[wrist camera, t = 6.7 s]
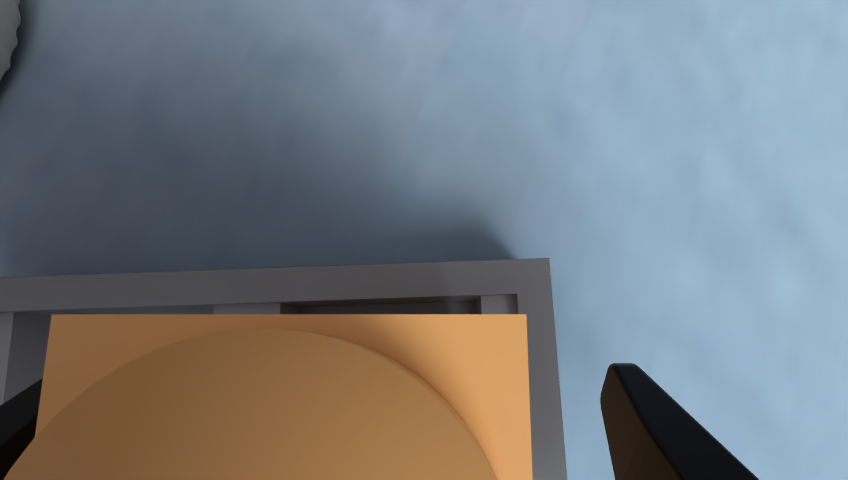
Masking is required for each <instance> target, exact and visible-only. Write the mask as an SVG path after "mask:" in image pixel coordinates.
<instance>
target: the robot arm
mask: <svg viewBox="0 0 848 480" xmlns="http://www.w3.org/2000/svg"><path fill="white" fill-rule="evenodd" d="M42 381H43V378H41V379H40V380H38V381H37V382H35V383H34V384H32V385H31V386H29V387H28V388H26V389H25V390H23V391H22V392H20V393H19V394H17V395H15V396H14V397H12V398H11V399H9V400H8V401H6V402H5V403H3V404H2V405H0V480H4V478H5V477H6V475H7V473H8V472H9V470H10V469H11V467H12V466H13V465H14V463H15V462H16V461H17V460H18V458H19V457H20V456H21V454H22V453H23V452H24V450H25V449H26V448H27V447H28V445H29V444H30V443H31V441H32V440H33V439H34V438H35V432H36V425H37V417H38V410H39V403H40V396H41V388H42ZM600 400H601V410H602V415H603V420H604V425H605V430H606V435H607V440H608V445H609V450H610V455H611V460H612V465H613V470H614V475H615V480H759V479H758V478H757V477H756V476H755V475H754V474H753V473H752V472H751V471H749V470H748V469H747V468H746V467H745V466H744V465H743V464H742V463H741V462H740V461H739V460H738V459H737V458H736V457H735V456H733V455H732V454H731V453H730V452H729V451H728V450H727V449H726V448H725V447H724V446H723V445H722V444H721V443H720V442H719V441H717V440H716V439H715V438H714V437H713V436H712V435H711V434H710V433H709V432H708V431H707V430H706V429H705V428H704V427H703V426H701V425H700V424H699V423H698V422H697V421H696V420H695V419H694V418H693V417H692V416H691V415H690V414H689V413H688V412H686V411H685V410H684V409H683V408H682V407H681V406H680V405H679V404H678V403H677V402H676V401H675V400H674V399H673V398H672V397H670V396H669V395H668V394H667V393H666V392H665V391H664V390H663V389H662V388H661V387H660V386H659V385H658V384H657V383H656V382H654V381H653V380H652V379H651V378H650V377H649V376H648V375H647V374H646V373H645V372H644V371H643V370H642V369H641V368H640V367H638V366H637V365H635V364H632V363H613V364H611V365H610V366H609V368H608V370H607V374H606V378H605V381H604V385H603V388H602V392H601V398H600Z"/></svg>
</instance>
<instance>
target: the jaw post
mask: <svg viewBox="0 0 848 480" xmlns="http://www.w3.org/2000/svg"><path fill="white" fill-rule="evenodd" d="M4 480H533V476H532V450H531V423H530V397H529V370H528V343H527V317H526V314H52V316H51V323H50V331H49V338H48V345H47V352H46V360H45V367H44V374H43V381H42V388H41V396H40V403H39V410H38V417H37V425H36V432H35V438H34V439H33V440H32V441H31V443H30V444H29V445H28V447H27V448H26V449H25V450H24V452H23V453H22V454H21V456H20V457H19V458H18V460H17V461H16V462H15V463H14V465H13V466H12V467H11V469H10V470H9V472H8V473H7V475H6V477H5V478H4Z"/></svg>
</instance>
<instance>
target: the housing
mask: <svg viewBox="0 0 848 480" xmlns="http://www.w3.org/2000/svg"><path fill="white" fill-rule="evenodd" d="M52 314H526V317H527V343H528V370H529V397H530V423H531V450H532V476H533V480H567V471H566V459H565V447H564V435H563V422H562V410H561V398H560V386H559V373H558V361H557V349H556V337H555V324H554V312H553V300H552V288H551V275H550V263H549V258H536V259H507V260H479V261H450V262H422V263H394V264H365V265H337V266H309V267H280V268H252V269H223V270H195V271H167V272H138V273H110V274H81V275H53V276H25V277H0V405H2V404H3V403H5V402H6V401H8V400H9V399H11V398H12V397H14V396H15V395H17V394H19V393H20V392H22V391H23V390H25V389H26V388H28V387H29V386H31V385H32V384H34V383H35V382H37V381H38V380H40V379H41V378H43V374H44V367H45V360H46V352H47V345H48V338H49V331H50V323H51V316H52Z"/></svg>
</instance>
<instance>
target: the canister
mask: <svg viewBox="0 0 848 480" xmlns="http://www.w3.org/2000/svg"><path fill="white" fill-rule="evenodd" d="M19 3H20V0H0V81H1V79H2V76H3V75H4V73H5V72H6V71H7V70H8V69H9V68H10V58H11V55H12V52H13V50H14V49H15V47H16V46H17V43H18V40H17V36H16V31H17V28H18V27H19V25H20V23H21V17H20V12H19V9H18V5H19Z"/></svg>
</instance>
